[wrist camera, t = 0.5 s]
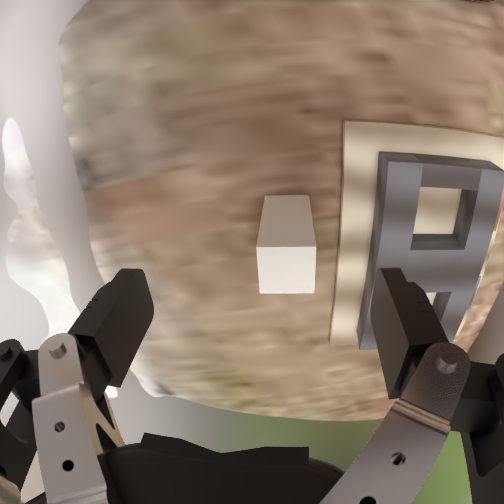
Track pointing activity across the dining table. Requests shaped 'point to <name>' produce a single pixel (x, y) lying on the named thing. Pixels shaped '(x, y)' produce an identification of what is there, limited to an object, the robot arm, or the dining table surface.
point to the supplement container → (482, 0)
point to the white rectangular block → (286, 245)
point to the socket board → (363, 201)
